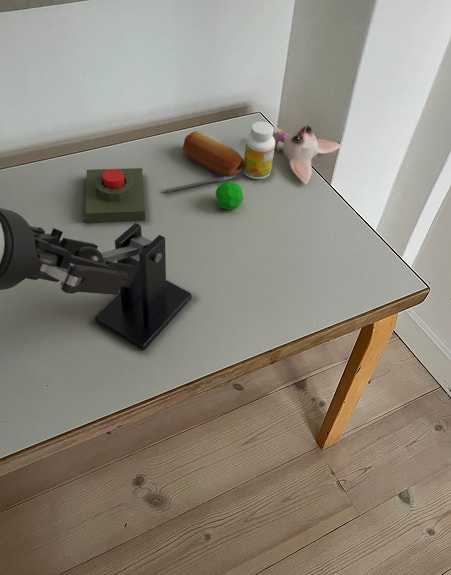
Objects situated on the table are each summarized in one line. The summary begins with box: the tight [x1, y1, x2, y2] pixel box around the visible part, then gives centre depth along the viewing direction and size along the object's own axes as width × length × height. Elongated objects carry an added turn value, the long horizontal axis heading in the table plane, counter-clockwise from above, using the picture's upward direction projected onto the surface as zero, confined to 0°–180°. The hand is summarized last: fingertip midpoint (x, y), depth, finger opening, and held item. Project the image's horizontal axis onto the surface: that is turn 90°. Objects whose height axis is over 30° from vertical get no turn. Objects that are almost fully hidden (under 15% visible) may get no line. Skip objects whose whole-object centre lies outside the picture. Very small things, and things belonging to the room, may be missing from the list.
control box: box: [84, 167, 146, 224], centre depth 101 cm, size 12×10×4 cm
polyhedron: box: [215, 180, 244, 211], centre depth 102 cm, size 5×5×5 cm
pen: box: [166, 174, 238, 193], centre depth 107 cm, size 1×1×14 cm
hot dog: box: [182, 130, 245, 177], centre depth 110 cm, size 5×13×5 cm
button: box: [103, 168, 125, 189], centre depth 100 cm, size 4×4×2 cm
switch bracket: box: [94, 222, 193, 351], centre depth 81 cm, size 12×9×15 cm
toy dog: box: [272, 125, 344, 186], centre depth 112 cm, size 15×8×15 cm
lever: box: [74, 236, 153, 263], centre depth 72 cm, size 14×4×4 cm, turn 148°
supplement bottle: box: [242, 121, 276, 180], centre depth 107 cm, size 5×5×10 cm
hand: (111, 265), depth 72 cm, fingers open, 6 cm apart
